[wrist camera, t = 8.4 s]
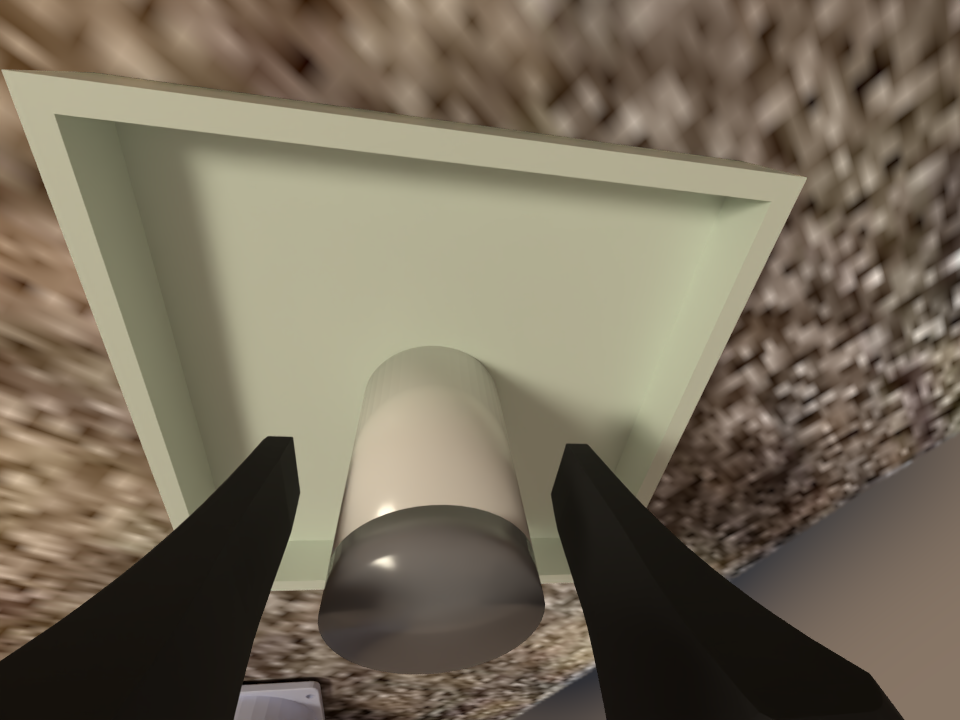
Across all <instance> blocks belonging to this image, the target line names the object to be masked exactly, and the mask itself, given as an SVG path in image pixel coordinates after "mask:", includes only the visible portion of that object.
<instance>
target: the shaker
mask: <svg viewBox="0 0 960 720" xmlns="http://www.w3.org/2000/svg"><path fill="white" fill-rule="evenodd" d="M544 609H545V601H544V595H543V591H542V586H541V582H540V578H539V573H538V569H537V564H536V560H535V555H534V551H533V547H532V542H531V538H530V533H529V529H528V525H527V520H526V516H525V511H524V507H523V502H522V498H521V494H520V489H519V485H518V480H517V476H516V471H515V467H514V463H513V458H512V454H511V449H510V445H509V441H508V436H507V432H506V427H505V423H504V418H503V414H502V410H501V405H500V401H499V396H498V392H497V387H496V384H495V382H494V379H493V377H492V376H491V374H490V372H489V371H488V370H487V369H486V367H485V366H484V365H483V364H482V363H481V362H479V361H478V360H477V359H475V358H474V357H472V356H470V355H469V354H467V353H465V352H462V351H460V350H457V349H453V348H449V347H443V346H420V347H415V348H411V349H408V350H404V351H402V352H399V353H397V354H395V355H393V356H392V357H390V358H388V359H387V360H386V361H384V362H383V363H382V364H381V365H380V366H379V367H378V368H377V369H376V370H375V371H374V372H373V374H372V375H371V377H370V379H369V381H368V383H367V386H366V389H365V393H364V398H363V403H362V407H361V412H360V417H359V422H358V427H357V432H356V436H355V441H354V446H353V451H352V456H351V461H350V465H349V470H348V475H347V480H346V485H345V489H344V494H343V499H342V504H341V509H340V514H339V518H338V523H337V528H336V533H335V538H334V543H333V547H332V552H331V557H330V562H329V567H328V572H327V576H326V581H325V586H324V591H323V596H322V601H321V605H320V610H319V615H318V626H319V631H320V634H321V636H322V638H323V640H324V641H325V642H326V644H327V645H328V646H329V647H330V648H331V649H332V650H333V651H334V652H335V653H337V654H338V655H340V656H341V657H343V658H345V659H347V660H349V661H351V662H353V663H355V664H358V665H360V666H363V667H367V668H370V669H374V670H378V671H383V672H390V673H398V674H434V673H443V672H450V671H456V670H461V669H465V668H469V667H473V666H476V665H479V664H482V663H485V662H488V661H491V660H493V659H495V658H498V657H500V656H502V655H504V654H506V653H508V652H509V651H511V650H513V649H514V648H516V647H517V646H519V645H520V644H521V643H523V642H524V641H525V640H526V639H527V638H528V637H529V636H530V635H531V634H532V633H533V632H534V631H535V630H536V628H537V627H538V625H539V624H540V622H541V620H542V617H543V614H544Z"/></svg>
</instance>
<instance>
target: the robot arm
mask: <svg viewBox="0 0 960 720" xmlns="http://www.w3.org/2000/svg"><path fill="white" fill-rule="evenodd" d="M299 497H300V486H299V478H298V471H297V463H296V455H295V448H294V440H293V437H285V436H267V437H266V438H265V439H263V440H262V441H261V443H260V444H259V445H258V446H257V447H256V448H255V449H254V450H253V451H252V453H251V454H250V455H249V456H248V457H247V458H246V459H245V460H244V461H243V462H242V463H241V465H240V466H239V467H238V468H237V469H236V470H235V471H234V472H233V473H232V474H231V475H230V476H229V477H228V478H227V479H226V480H225V481H224V482H223V483H222V484H221V485H220V486H219V487H218V488H217V489H216V491H215V492H214V493H213V494H212V495H211V496H210V497H209V498H208V499H207V500H206V501H205V502H204V503H203V504H202V505H201V506H200V507H198V508H197V509H196V510H195V511H194V512H193V513H192V514H191V515H190V516H189V517H188V518H187V519H186V520H185V521H183V522H182V523H181V524H180V525H179V526H178V527H177V528H176V529H175V530H174V531H173V532H172V533H170V534H169V535H168V536H167V537H166V538H165V539H164V540H163V541H161V542H160V543H159V544H158V545H157V546H156V547H155V548H153V549H152V550H151V551H150V552H149V553H148V554H146V555H145V556H144V557H143V558H142V559H140V560H139V561H138V562H137V563H135V564H134V565H133V566H132V567H131V568H129V569H128V570H127V571H126V572H124V573H123V574H122V575H121V576H119V577H118V578H117V579H116V580H114V581H113V582H112V583H110V584H109V585H108V586H106V587H105V588H104V589H102V590H101V591H100V592H98V593H97V594H96V595H94V596H93V597H92V598H90V599H89V600H88V601H87V602H85V603H84V604H83V605H81V606H80V607H78V608H77V609H76V610H74V611H73V612H72V613H70V614H69V615H67V616H66V617H65V618H63V619H62V620H60V621H59V622H58V623H56V624H55V625H53V626H52V627H50V628H49V629H47V630H46V631H44V632H43V633H41V634H40V635H38V636H37V637H35V638H34V639H32V640H31V641H29V642H28V643H27V644H25V645H24V646H22V647H21V648H19V649H18V650H16V651H15V652H13V653H12V654H10V655H9V656H7V657H6V658H4V659H3V660H1V661H0V720H325V715H324V708H323V701H322V694H321V687H320V684H319V683H318V682H316V681H303V682H285V683H268V684H250V685H242V684H243V680H244V676H245V672H246V668H247V664H248V660H249V657H250V653H251V649H252V645H253V641H254V638H255V635H256V632H257V629H258V625H259V622H260V619H261V616H262V614H263V611H264V608H265V605H266V602H267V600H268V597H269V594H270V591H271V588H272V586H273V583H274V580H275V577H276V574H277V572H278V569H279V566H280V563H281V560H282V557H283V555H284V552H285V549H286V546H287V543H288V540H289V537H290V535H291V532H292V527H293V523H294V519H295V515H296V510H297V506H298V501H299ZM551 499H552V504H553V510H554V516H555V521H556V526H557V530H558V534H559V537H560V540H561V543H562V547H563V550H564V553H565V556H566V559H567V562H568V566H569V569H570V572H571V575H572V578H573V581H574V584H575V587H576V591H577V594H578V597H579V600H580V603H581V606H582V609H583V613H584V617H585V620H586V624H587V627H588V632H589V636H590V641H591V645H592V650H593V654H594V659H595V663H596V668H597V673H598V678H599V683H600V688H601V693H602V698H603V703H604V708H605V713H606V719H607V720H904V719H903V717H902V716H901V715H900V713H899V712H898V711H897V709H896V708H895V707H894V705H893V704H892V703H891V701H890V700H889V699H888V697H887V696H886V695H885V693H884V692H883V691H882V689H881V688H880V686H879V685H878V684H877V683H876V681H875V680H874V679H873V677H872V676H871V675H870V674H869V673H868V672H866V671H864V670H862V669H861V668H859V667H858V666H856V665H854V664H853V663H851V662H849V661H847V660H846V659H844V658H843V657H841V656H839V655H838V654H836V653H834V652H833V651H831V650H829V649H828V648H826V647H824V646H823V645H821V644H819V643H818V642H816V641H814V640H812V639H811V638H810V637H808V636H806V635H805V634H803V633H802V632H800V631H799V630H797V629H796V628H794V627H793V626H791V625H790V624H788V623H786V622H785V621H784V620H782V619H781V618H779V617H778V616H776V615H775V614H773V613H772V612H770V611H769V610H768V609H766V608H764V607H763V606H762V605H760V604H759V603H757V602H756V601H755V600H753V599H752V598H751V597H749V596H748V595H747V594H745V593H744V592H743V591H741V590H740V589H739V588H737V587H736V586H735V585H733V584H732V583H731V582H729V581H728V580H727V579H725V578H724V577H723V576H722V575H720V574H719V573H718V572H716V571H715V570H714V569H713V568H711V567H710V566H709V565H708V564H707V563H706V562H704V561H703V560H702V559H701V558H700V557H698V556H697V555H696V554H695V553H694V552H693V551H691V550H690V549H689V548H688V547H687V546H686V545H684V544H683V543H682V542H681V541H680V540H679V539H678V538H677V537H676V536H674V535H673V534H672V533H671V532H670V531H669V530H668V529H667V528H666V527H665V526H664V525H663V524H662V523H661V522H660V521H659V520H658V519H657V518H656V517H655V516H654V515H653V514H652V513H651V512H650V511H649V510H648V509H647V508H646V507H645V506H644V505H643V504H642V503H641V502H640V501H639V500H638V499H637V498H636V497H635V496H634V495H633V494H632V493H631V492H630V491H629V489H628V488H627V487H626V486H625V485H624V484H623V483H622V482H621V481H620V480H619V479H618V477H617V476H616V475H615V474H614V473H613V472H612V471H611V470H610V469H609V467H608V466H607V465H606V464H605V463H604V462H603V461H602V460H601V458H600V457H599V456H598V455H597V454H596V453H595V452H594V451H593V450H592V448H591V447H590V446H589V445H588V444H571V443H566V446H565V449H564V453H563V456H562V459H561V462H560V466H559V469H558V472H557V475H556V479H555V482H554V485H553V488H552V492H551Z"/></svg>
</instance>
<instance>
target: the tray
mask: <svg viewBox="0 0 960 720" xmlns="http://www.w3.org/2000/svg"><path fill="white" fill-rule="evenodd" d="M1 70H2V69H1ZM2 73H3V75H4V78H5V81H6V83H7V86H8V89H9V91H10V94H11V97H12V99H13V102H14V105H15V107H16V110H17V113H18V115H19V118H20V121H21V123H22V126H23V129H24V131H25V134H26V137H27V139H28V142H29V145H30V147H31V150H32V153H33V155H34V158H35V161H36V163H37V166H38V169H39V172H40V174H41V177H42V180H43V182H44V185H45V188H46V190H47V193H48V196H49V198H50V201H51V204H52V206H53V209H54V212H55V214H56V217H57V220H58V222H59V225H60V228H61V230H62V233H63V236H64V238H65V241H66V244H67V246H68V249H69V252H70V254H71V257H72V260H73V262H74V265H75V268H76V270H77V273H78V276H79V278H80V281H81V284H82V286H83V289H84V292H85V294H86V297H87V300H88V302H89V305H90V308H91V310H92V313H93V316H94V318H95V321H96V324H97V326H98V329H99V332H100V334H101V337H102V340H103V342H104V345H105V348H106V350H107V353H108V356H109V358H110V361H111V364H112V366H113V369H114V372H115V374H116V377H117V380H118V382H119V385H120V388H121V390H122V393H123V396H124V398H125V401H126V404H127V406H128V409H129V412H130V414H131V417H132V420H133V422H134V425H135V428H136V430H137V433H138V436H139V438H140V441H141V444H142V446H143V449H144V452H145V454H146V457H147V460H148V462H149V465H150V468H151V470H152V473H153V476H154V478H155V481H156V484H157V486H158V489H159V492H160V494H161V497H162V500H163V503H164V505H165V508H166V511H167V513H168V516H169V519H170V521H171V524H172V527H173V529H174V530H175V529H176V528H177V527H178V526H179V525H180V524H181V523H182V522H183V521H185V520H186V519H187V518H188V517H189V516H190V515H191V514H192V513H193V512H194V511H195V510H196V509H197V508H198V507H200V506H201V505H202V504H203V503H204V502H205V501H206V500H207V499H208V498H209V497H210V496H211V495H212V494H213V493H214V492H215V491H216V489H217V488H218V487H219V486H220V485H221V484H222V483H223V482H224V481H225V480H226V479H227V478H228V477H229V476H230V475H231V474H232V473H233V472H234V471H235V470H236V469H237V468H238V467H239V466H240V465H241V463H242V462H243V461H244V460H245V459H246V458H247V457H248V456H249V455H250V454H251V453H252V451H253V450H254V449H255V448H256V447H257V446H258V445H259V444H260V443H261V441H262V440H263V439H265V438H266V437H267V436H285V437H293V440H294V448H295V455H296V463H297V471H298V478H299V486H300V497H299V501H298V506H297V510H296V515H295V519H294V523H293V527H292V532H291V535H290V537H289V540H288V543H287V546H286V549H285V552H284V555H283V557H282V560H281V563H280V566H279V569H278V572H277V574H276V577H275V580H274V583H273V586H272V588H271V591H285V590H323V589H324V586H325V581H326V576H327V572H328V567H329V562H330V557H331V552H332V547H333V543H334V538H335V533H336V528H337V523H338V518H339V514H340V509H341V504H342V499H343V494H344V489H345V485H346V480H347V475H348V470H349V465H350V461H351V456H352V451H353V446H354V441H355V436H356V432H357V427H358V422H359V417H360V412H361V407H362V403H363V398H364V393H365V389H366V386H367V383H368V381H369V379H370V377H371V375H372V374H373V372H374V371H375V370H376V369H377V368H378V367H379V366H380V365H381V364H382V363H383V362H384V361H386V360H387V359H388V358H390V357H392V356H393V355H395V354H397V353H399V352H402V351H404V350H408V349H411V348H415V347H420V346H443V347H449V348H453V349H457V350H460V351H462V352H465V353H467V354H469V355H470V356H472V357H474V358H475V359H477V360H478V361H479V362H481V363H482V364H483V365H484V366H485V367H486V369H487V370H488V371H489V372H490V374H491V376H492V377H493V379H494V382H495V384H496V387H497V392H498V396H499V401H500V405H501V410H502V414H503V418H504V423H505V427H506V432H507V436H508V441H509V445H510V449H511V454H512V458H513V463H514V467H515V471H516V476H517V480H518V485H519V489H520V494H521V498H522V502H523V507H524V511H525V516H526V520H527V525H528V529H529V533H530V538H531V542H532V547H533V551H534V555H535V560H536V564H537V569H538V573H539V578H540V582H541V584H548V583H574V581H573V578H572V575H571V572H570V569H569V566H568V562H567V559H566V556H565V553H564V550H563V547H562V543H561V540H560V537H559V534H558V530H557V526H556V521H555V516H554V510H553V504H552V499H551V492H552V488H553V485H554V482H555V479H556V475H557V472H558V469H559V466H560V462H561V459H562V456H563V453H564V449H565V446H566V443H571V444H588V445H589V446H590V447H591V448H592V450H593V451H594V452H595V453H596V454H597V455H598V456H599V457H600V458H601V460H602V461H603V462H604V463H605V464H606V465H607V466H608V467H609V469H610V470H611V471H612V472H613V473H614V474H615V475H616V476H617V477H618V479H619V480H620V481H621V482H622V483H623V484H624V485H625V486H626V487H627V488H628V489H629V491H630V492H631V493H632V494H633V495H634V496H635V497H636V498H637V499H638V500H639V501H640V502H641V503H642V504H643V505H644V506H645V507H646V508H647V506H648V504H649V502H650V500H651V498H652V496H653V494H654V492H655V490H656V487H657V485H658V483H659V481H660V479H661V477H662V475H663V473H664V471H665V469H666V467H667V465H668V463H669V461H670V459H671V457H672V455H673V453H674V450H675V448H676V446H677V444H678V442H679V440H680V438H681V436H682V434H683V432H684V430H685V428H686V426H687V424H688V422H689V420H690V418H691V416H692V413H693V411H694V409H695V407H696V405H697V403H698V401H699V399H700V397H701V395H702V393H703V391H704V389H705V387H706V385H707V383H708V381H709V379H710V376H711V374H712V372H713V370H714V368H715V366H716V364H717V362H718V360H719V358H720V356H721V354H722V352H723V350H724V348H725V346H726V344H727V342H728V339H729V337H730V335H731V333H732V331H733V329H734V327H735V325H736V323H737V321H738V319H739V317H740V315H741V313H742V311H743V309H744V307H745V305H746V302H747V300H748V298H749V296H750V294H751V292H752V290H753V288H754V286H755V284H756V282H757V280H758V278H759V276H760V274H761V272H762V270H763V268H764V265H765V263H766V261H767V259H768V257H769V255H770V253H771V251H772V249H773V247H774V245H775V243H776V241H777V239H778V237H779V235H780V233H781V231H782V228H783V226H784V224H785V222H786V220H787V218H788V216H789V214H790V212H791V210H792V208H793V206H794V204H795V202H796V200H797V198H798V196H799V194H800V191H801V189H802V187H803V185H804V183H805V181H806V179H807V177H803V176H799V175H795V174H791V173H787V172H783V171H779V170H775V169H771V168H767V167H763V166H759V165H755V164H751V163H747V162H743V161H737V160H729V159H722V158H715V157H707V156H700V155H693V154H685V153H678V152H671V151H664V150H656V149H649V148H642V147H634V146H627V145H620V144H612V143H605V142H598V141H590V140H583V139H576V138H569V137H561V136H554V135H547V134H539V133H532V132H525V131H517V130H510V129H503V128H495V127H488V126H481V125H474V124H466V123H459V122H452V121H444V120H437V119H430V118H422V117H415V116H408V115H400V114H393V113H386V112H379V111H371V110H364V109H357V108H349V107H342V106H335V105H327V104H320V103H313V102H305V101H298V100H291V99H284V98H276V97H269V96H262V95H254V94H247V93H240V92H232V91H225V90H218V89H211V88H203V87H196V86H189V85H181V84H174V83H167V82H159V81H152V80H145V79H137V78H130V77H123V76H116V75H108V74H101V73H92V72H62V71H32V70H2Z"/></svg>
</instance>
